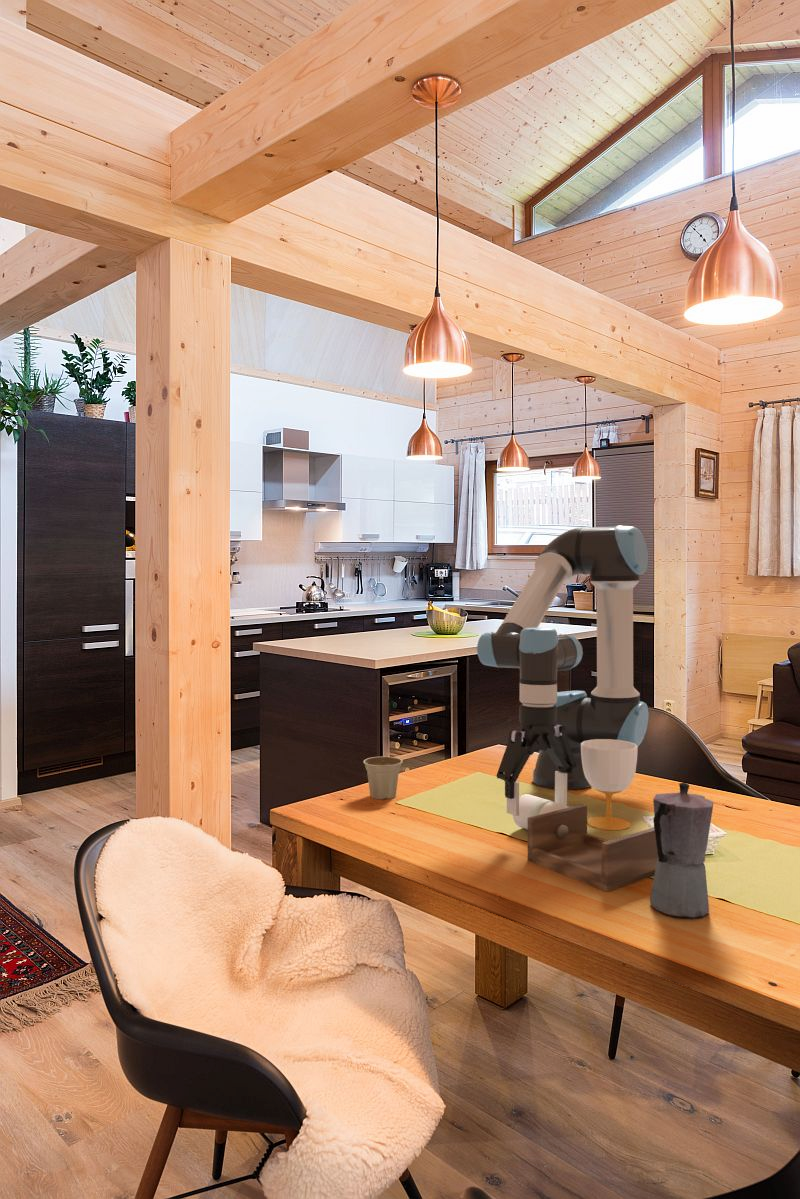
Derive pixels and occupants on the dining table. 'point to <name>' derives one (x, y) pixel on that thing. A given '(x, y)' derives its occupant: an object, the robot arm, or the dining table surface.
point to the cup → (609, 774)
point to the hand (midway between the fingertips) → (537, 809)
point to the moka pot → (681, 853)
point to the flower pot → (383, 776)
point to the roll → (534, 808)
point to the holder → (590, 850)
